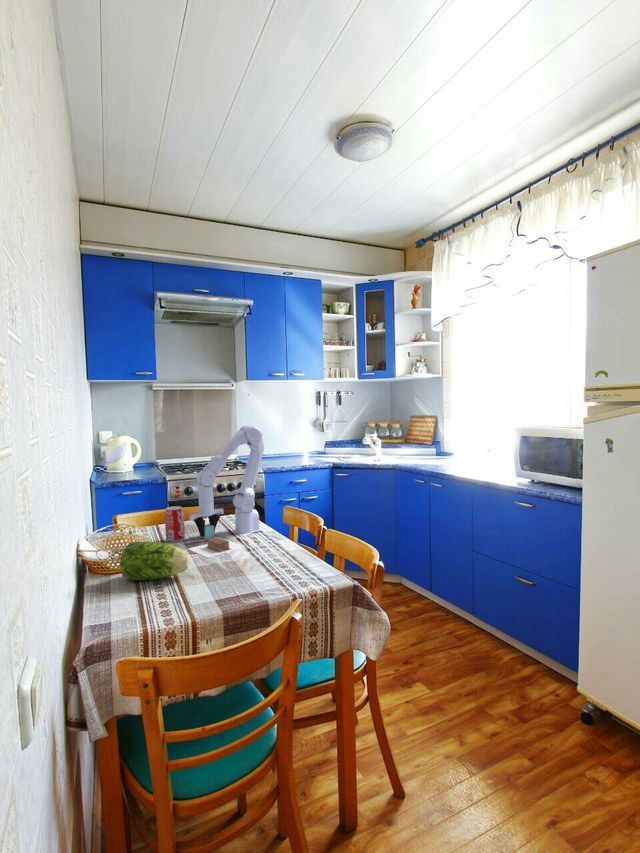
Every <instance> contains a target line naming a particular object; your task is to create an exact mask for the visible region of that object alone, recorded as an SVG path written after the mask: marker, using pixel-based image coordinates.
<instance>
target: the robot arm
mask: <svg viewBox="0 0 640 853" xmlns="http://www.w3.org/2000/svg"><path fill="white" fill-rule="evenodd" d="M243 445H247V447H248V448H249V449H250V451H249V456H248V459H247V462H246V467H245V471H244V475H243V476H242V477H243V478H242V482H241V485H240V487H239V488H238V489H237V492H236V494H235V495H234V497H233V498H232V504H233V506H234V507H235V509H234V518H235V519H234V521H235V522H234V524H235V526H234V527H235V528H234V529H235V530H231V532H232V533H235V534H239V535H241V536H243V535H247V534H254V533H258V532H261V529H260V515H259V511H257V509H256V508H255V505H256V504H255V495H256V493H255V491H254V488H255V485H256V481H257V477H258V474H259V470H260V465H261V462H262V458H263V456H264V451H265V444H264V441H263V433H262V431H261V430H260V429H259V427H257V426H251V425H250V426H249V425H242V426H241V427H240V428H239V429H238V430H237V431H236V432H235V433H234V436H232V438H231V439H230V441H229V442H228V443H227V444H226V446H225V447H224V449H222V451H221V452H220V454H217V455H216V454H215V455H214V456H211V457H210V461H209V462H208V463H207V464H206V466H203V467H202V470H200V471H199V472H198V473H197V475H196V478H195V481H196V482H197V483H198V512H195V513H191V514H188V520H189V521H193V522H194V523H195V525H196V527H197V529H198V534H199V537H200V536H202V537H204V526H205V525H206V519H204V518H208V522H209V523H208V524H210V525H213V526H214V534H215V532H216V528H217V525H218V523H219V521H220V517H221V516H220V515H224V513H225V511H224V508H215V507H214V506H215V504H214V497H215V496H214V483H216V477H217V476H218V475H219V474H220V473H221V471H223V469H224V468H225V467H226V466H227V460H228V459H229V458H230V457H231V456H232V454H233V453H234V452H235V451H236V450H237V449H238V448H239V447H240V446H243Z"/></svg>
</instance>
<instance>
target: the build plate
mask: <svg viewBox="0 0 640 853" xmlns="http://www.w3.org/2000/svg"><path fill="white" fill-rule="evenodd" d="M223 539H224V540H227V541H229V549H228V550H225V551H221V552H219V551H216V550H213V549H211V548H208V543H205V544H202V545H198V546H193V547H189V548H188V550H189V551H191V552H194V553H197V554H199V555H200V556H203V557H205V558H210V557H214V556H217V555H222V554H225V553H228V552H232V551H236V550H239V549H243V548H246V546H245V545H243V544H239V543H237V542H234V541H231V540H228V539H225V538H223Z"/></svg>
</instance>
